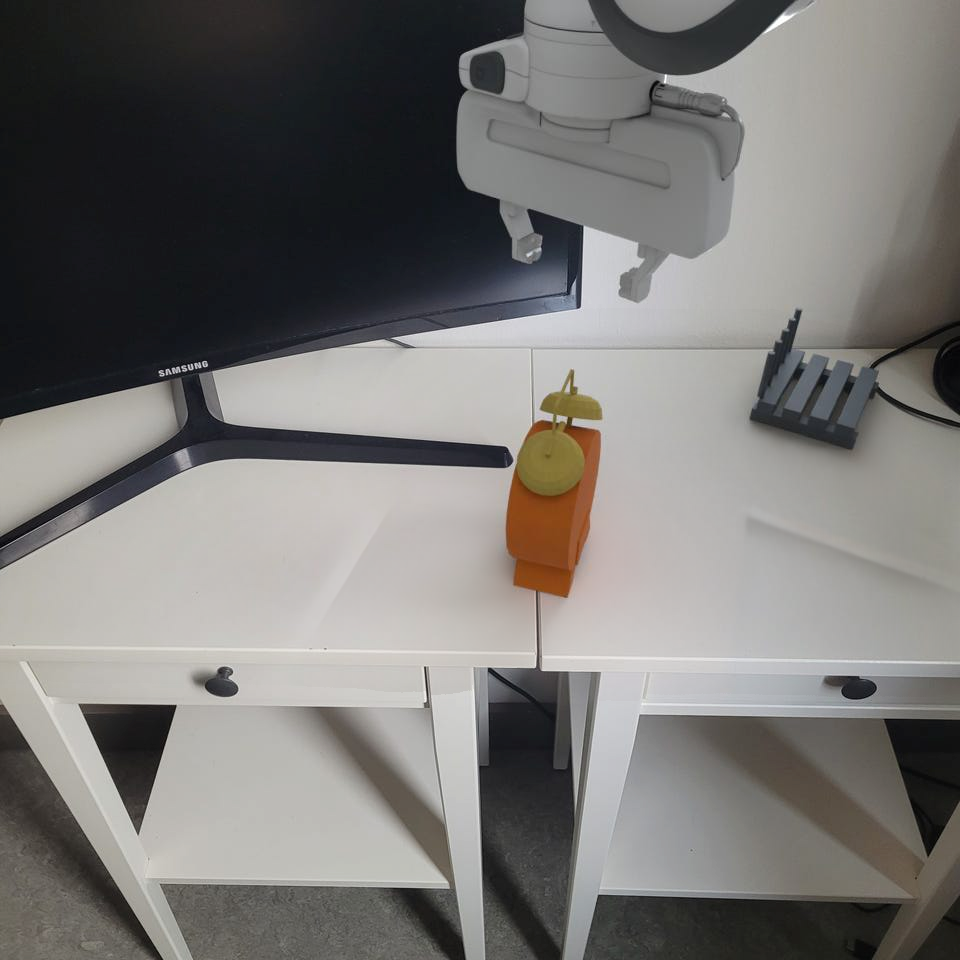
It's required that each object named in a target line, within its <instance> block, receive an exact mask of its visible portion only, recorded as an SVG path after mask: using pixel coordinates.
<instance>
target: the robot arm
mask: <svg viewBox="0 0 960 960" xmlns="http://www.w3.org/2000/svg"><path fill="white" fill-rule="evenodd" d="M818 1H819V0H525V4H524V10H523V11H524V12H523V14H524V15H523V31H521V32H517V33H514V34H511V35H508V36H507V37H506V38H505V39H502V40H498V41H494V42H491V43H487V44H485V45H482V46H479V47H476V48H473V49H470V50H468V51H465V52H464V53H462V54H461V55H460V57H459V62H458V75H459V76H458V77H459V79H460V83H461V85H462V86H463V87H464V88H465V89H467V90H466V91H465V92H464V93H463V94H462V96H461V97H460V100H459V102H458V108H457V115H456V167H457V173H458V174H459V175H458V176H460V178H461V181H462V183H463V184H464V186H465V188H467V190H470V191H471V192H476V193H479V194H483V195H485V196H487V197H488V196H489V197H491V198H496V199H497V200H499V215H500V216H501V218H502V221H503V223H504V225H505V227H506V229H507V232H508V234H509V236H510V238H512V239H511V257H512V259H513V260H515V261H519V262H522V263H525V264H528V265H531V264H533V262H537V261H538V260H540V258H541V256H542V248H541V245H542V244H543V235H541V234H539V233H536V232H535V231H534V228H533V225H532V222H531V219H530V216H529V213H528V210H529V209H530V210H533V211H536V212H539V213H541V214H542V213H543V214H544V215H548V216H552V217H555V218H558V219H561V220H564V221H567V222H570V223H574V224H577V225H580V226H583V227H586V228H590V229H592V230H595V231H599V232H602V233H605V234H608V235H612V236H614V237H617V238H621V239H624V240H628V241H630V242H633V243H637V253H636V256H637V257H638V258H639V259H642V260H643V261H642V263H641V264H640V265H639V266H638V267H637V266H632V267H631V268H630V269H629V270H628V271H625V272H623V273H621V274H620V275H619V287H620V288H619V289H618V292H617V293H618V297H620V298H622V299H625V300H627V301H630V302H633V303H636V304H639V303H641V302H643V301H644V300H645V299H647V298H648V297H649V294H650V292H651V291H650V290H651V286H652V285H651V284H652V279H653V278H652V277H653V274H654V273H655V272H656V271H657V270H658V269H659V267H660V266H661V265H662V264H663V263H664V262H665V260H667V258H668V257H669V256H670V255H675V256H678V257H681V258H684V259H687V260H695V259H697V258H699V257H701V256H702V255H704V254H706V253H708V252H709V251H712V249H714V248H715V247H717V246H718V245H719V244H720V243H721V242H722V241H724V239H725V238H726V237H727V235H728V234H729V231H730V227H731V221H732V216H733V215H732V214H733V207H734V199H735V198H734V196H735V181H736V169H737V167H738V165H739V162H740V159H741V156H742V150H743V145H744V141H745V135H746V134H745V133H746V128H745V123H744V121H743V120H742V117H741V116H740V114H739V113H738V111H736V109H735V108H734V107H732V106H731V105H729V104H728V99H727V98H726V97H724V96H722V95H720V94H717V93H713V92H703V93H702V92H698V91H694V90H691V89H688V88H686V87H682V86H678V85H673V84H668V83H666V82H667V76H676V77H677V76H678V77H679V76H690V75H691V76H692V75H697V74H701V73H704V72H707V71H710V70H713V69H716V68H718V67H720V66H721V65H723V64H725V63H727V62H728V61H731V60H732V59H733V58H735V57H736V56H738V55H739V54H740V53H742V52H743V51H744V50H746V49H747V48H748V47H749V46H750V45H752V44H753V43H755V42H756V41H757V40H759V39H760V38H761V37H762V36H763V35H765V34H766V33H768V32H769V31H771V30H773V29H775V28H777V27H778V26H780V25H781V24H783V23H785V22H786V21H788V20H790V19H792V18H793V17H795V16H797V15H799V14H801V13H802V12H804V11H805V10H807V9H809V8H810V7H812V6H813V5H815V4H816V3H817V2H818ZM724 114H726V115H728V116H725V115H724Z"/></svg>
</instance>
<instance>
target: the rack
mask: <svg viewBox="0 0 960 960" xmlns="http://www.w3.org/2000/svg"><path fill="white" fill-rule="evenodd" d="M802 313H803V308H802V307H795V310H794V314H793V317H789V318H788V322H787V325H786V327H785V328H783V329H781V332H780V337H779V339H775V341H774V344H773V347H772V348H773V349H772V350H769V351H768V352H767V354H766V359H765V363H764V366H763V369H762V370H763V371H762V374H761V378H760V382H759V386H758V390H757V394H756V396H757V398H758V400H757V402H755V403H754V404H753V407H752V408H751V410H750V414H749V419H750V420H752V421H755V422H758V423H762V424H765V425H769V426H772V427H776V428H779V429H782V430H786V431H789V432H792V433H795V434H798V435H802V436H806V437H809V438H812V439H815V440H818V441H822V442H825V443H829V444H832V445H835V446H839V447H842V448H844V449H848V450H853V449H854V446H855V444H856V442H857V439H858V437H859V434H860V433H859V432H858V431H855V430H856V428H857V426H858V423H859V421H860V419H861V416H862V414H863V412H864V410H865V407H866V405H867V402H868V400H869V399H872V400H873V399H874V398H875V396H876V394H877V391H878V388H879V385H880V382H878V381H876V380H877V378H878V376H879V372H880V370H878V369H874V368H871V367H866V366H861V368H860V371H859V373H858V375H857V376H856V375H851V374H852V372H853V368H854V366H855V365H854V363H852V362H847V361H843V360H840V359H838V360H837V361H836V362H835V364H834V366H833V368H832V369H829V368H827V367H828V364H829V361H830V357H828V356H824V355H821V354H817V353H812V355H811V357H810V359H809V361H808V363H807V362H804V357H805V355H806V351H804V350H800V349H797V348H793V345H794V342H795V338H796V335H797V332H798V328H799V324H800V321H801V316H802ZM794 378H796V379H798V381H797V383H796V385H795V386H794V388H793V390H792V392H791V393H790V395H789V397H788V399H787V401H786V402H785V405H784V406H783V409H781V408H777V407H778V406H779V404H780V403H781V401H782V399H783V397H784V395H785V394H786V391H787V390H788V388H789V386H790V384H791V383H792V381H793V379H794ZM818 385H821V386H824V387H823V389H822V390H821V392H820V394H819V396H818V398H817V400H816V402H815V404H814V406H813V408H812V410H811V412H810V414H809V416H808V417H807V416H803V414H804V412H805V410H806V408H807V406H808V404H809V402H810V401H811V398H812V396H813V395H814V392H815V391H816V389H817V387H818ZM843 392H847V393H849V395H848V397H847V399H846V402H845V404H844V406H843V408H842V410H841V412H840V415H839V417H838V419H837V422H836V423H835V425H834V424H832V423H829V421H830V419H831V417H832V416H833V413H834V411H835V408H836V407H837V404H838V402H839V401H840V398H841V396H842V393H843Z"/></svg>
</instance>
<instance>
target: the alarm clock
mask: <svg viewBox="0 0 960 960" xmlns="http://www.w3.org/2000/svg"><path fill="white" fill-rule="evenodd" d="M574 383H575V369H572V368H570V370H569V372H568V373H567V376H566V379H565V381H564V383H563V385H562V388H561V390H560V391H555V392H550V393H548V395H546V396H545V397H544V398H543V399H542V402H541V404H540V406H539V411H541V412H544V413H547V414H551V415H552V421H551V420H546V419H541V420H537V421H535V422H534V423H533V424H532V425H531V427H530V428H529V430H528V432H527V434H526V436H525V437H524V439H523V443H522V444H521V447H520V449H519V451H518V453H517V456H516V463H515V467H514V471H513V475H512V479H511V484H510V488H509V494H508V500H507V508H506V518H505V545H506V549H507V551H508V555H509V556H510V557H511V558H513V559H516V562H515V569H514V577H513V584H512V585H513V586H516V587H520V588H524V589H529V590H534V591H537V592H541V593H545V594H550V595H554V596H559V597H562V598H567V599H568V597H569V595H570V591H571V588H572V586H573V582H574V577H575V571H576V566H578V564H579V561H580V558H581V555H582V553H583V549H584V546H585V543H586V541H587V539H588V537H589V536H588V535H589V532H590V529H591V512H592V507H593V502H594V497H595V492H596V486H597V481H598V476H599V475H598V474H599V468H600V460H601V448H602V446H601V445H602V434H601V431H600V430H599V429H595V428H591V427H584V426H579V425H573V419H577V420H579V419H580V420H587V421H602V420H603V409H602V406H601V404H600V403H599V400H597V399H595V398H593V397H592V396H590V395H586V394H580V393H578V390H579V386H574ZM568 385H569V392H568V391H566V389H567V387H568ZM558 416H559V417H560V416H561V417H566V422H565V421H564V420H561V421H559V422H557V420H558V419H557V418H558Z"/></svg>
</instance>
